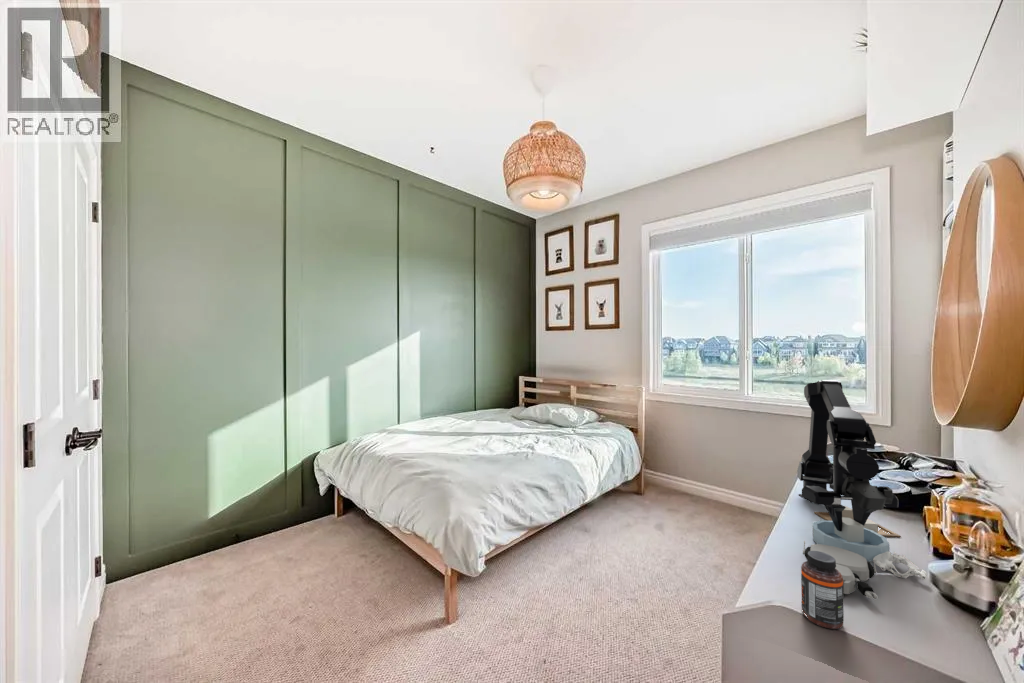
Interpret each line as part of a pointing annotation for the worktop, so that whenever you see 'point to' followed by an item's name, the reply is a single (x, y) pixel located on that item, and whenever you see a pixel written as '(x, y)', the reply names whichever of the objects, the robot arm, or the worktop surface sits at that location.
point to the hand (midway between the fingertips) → (848, 531)
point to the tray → (827, 517)
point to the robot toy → (849, 568)
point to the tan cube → (847, 513)
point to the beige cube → (851, 530)
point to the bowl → (867, 549)
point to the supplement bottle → (822, 590)
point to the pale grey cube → (871, 525)
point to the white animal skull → (885, 563)
